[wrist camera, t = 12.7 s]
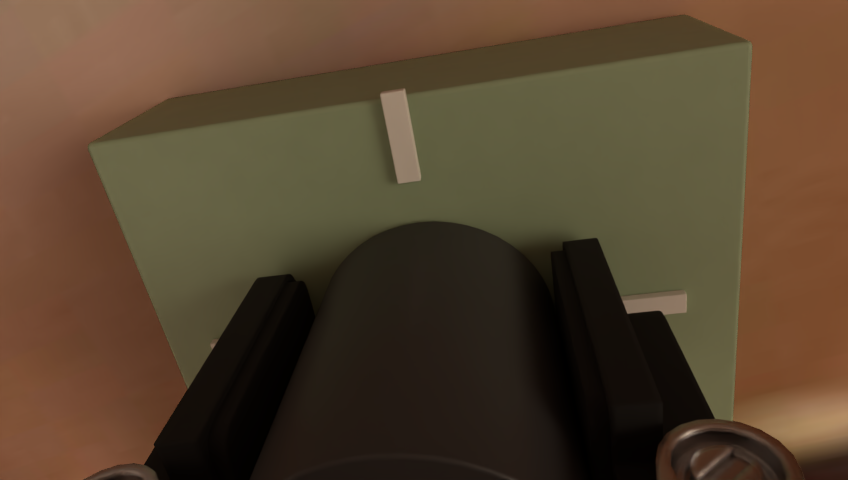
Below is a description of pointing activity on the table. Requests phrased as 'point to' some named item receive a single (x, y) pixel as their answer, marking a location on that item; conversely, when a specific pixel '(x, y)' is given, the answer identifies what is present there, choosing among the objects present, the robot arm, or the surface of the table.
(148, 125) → the panel
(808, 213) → the table surface
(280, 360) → the robot arm
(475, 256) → the dial
